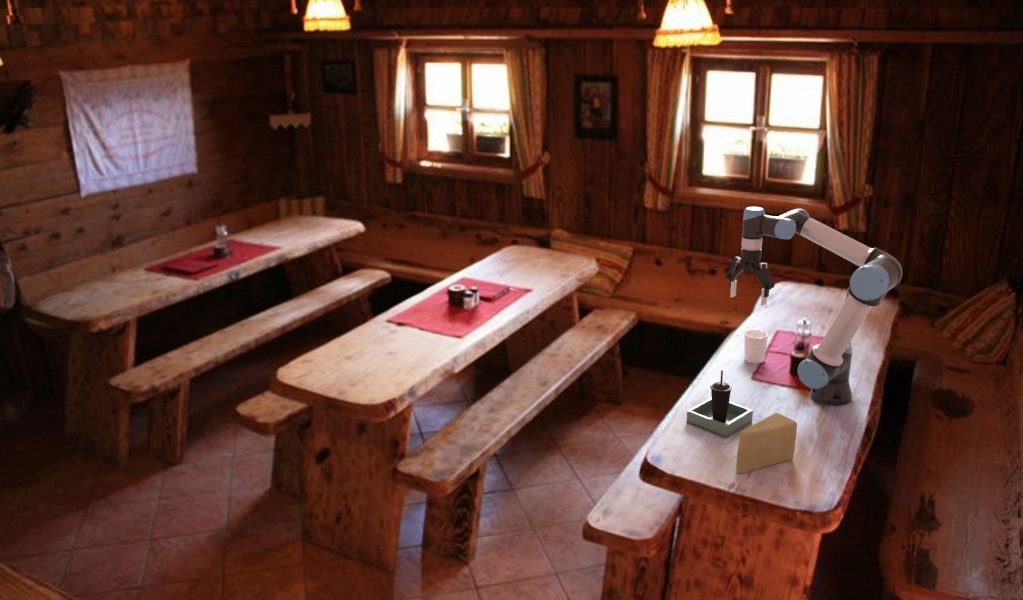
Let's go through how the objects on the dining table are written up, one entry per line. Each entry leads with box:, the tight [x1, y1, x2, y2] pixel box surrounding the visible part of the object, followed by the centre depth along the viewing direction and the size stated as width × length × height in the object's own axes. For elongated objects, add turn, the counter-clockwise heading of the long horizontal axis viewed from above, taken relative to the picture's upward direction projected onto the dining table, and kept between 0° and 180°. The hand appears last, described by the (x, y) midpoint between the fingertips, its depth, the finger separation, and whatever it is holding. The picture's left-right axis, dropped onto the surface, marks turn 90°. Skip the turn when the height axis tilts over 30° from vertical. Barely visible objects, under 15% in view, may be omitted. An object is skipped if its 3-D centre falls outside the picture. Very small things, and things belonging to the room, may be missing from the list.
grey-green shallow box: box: [686, 396, 754, 439], centre depth 326 cm, size 17×17×5 cm
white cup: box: [744, 329, 769, 364], centre depth 377 cm, size 10×10×12 cm
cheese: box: [735, 412, 798, 475], centre depth 296 cm, size 22×10×15 cm, turn 122°
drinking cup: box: [710, 369, 733, 423], centre depth 323 cm, size 8×8×20 cm
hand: (748, 300), depth 342 cm, fingers open, 13 cm apart
